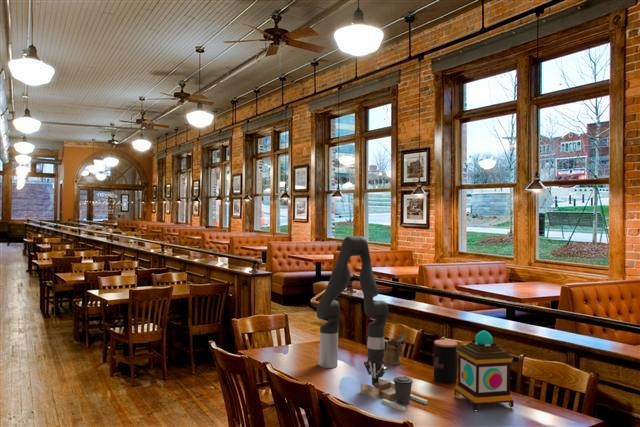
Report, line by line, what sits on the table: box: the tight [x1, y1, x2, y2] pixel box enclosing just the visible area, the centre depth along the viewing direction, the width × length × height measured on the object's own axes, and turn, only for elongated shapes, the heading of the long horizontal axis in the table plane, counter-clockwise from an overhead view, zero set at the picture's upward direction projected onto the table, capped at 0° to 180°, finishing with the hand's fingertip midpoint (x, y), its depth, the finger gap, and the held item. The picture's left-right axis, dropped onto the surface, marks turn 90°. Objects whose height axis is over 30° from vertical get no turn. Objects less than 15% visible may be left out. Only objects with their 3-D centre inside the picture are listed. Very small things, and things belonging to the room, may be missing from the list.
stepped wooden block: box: [359, 377, 395, 400], centre depth 219 cm, size 10×12×4 cm
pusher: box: [373, 380, 396, 401], centre depth 215 cm, size 9×7×5 cm
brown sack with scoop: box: [383, 331, 407, 366], centre depth 262 cm, size 9×14×18 cm, turn 35°
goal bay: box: [381, 393, 429, 413], centre depth 208 cm, size 12×15×1 cm
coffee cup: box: [392, 376, 414, 406], centre depth 209 cm, size 8×8×10 cm
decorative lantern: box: [454, 330, 515, 411], centre depth 210 cm, size 20×20×30 cm
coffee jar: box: [433, 339, 458, 385], centre depth 237 cm, size 11×11×18 cm
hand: (375, 385), depth 221 cm, fingers closed
